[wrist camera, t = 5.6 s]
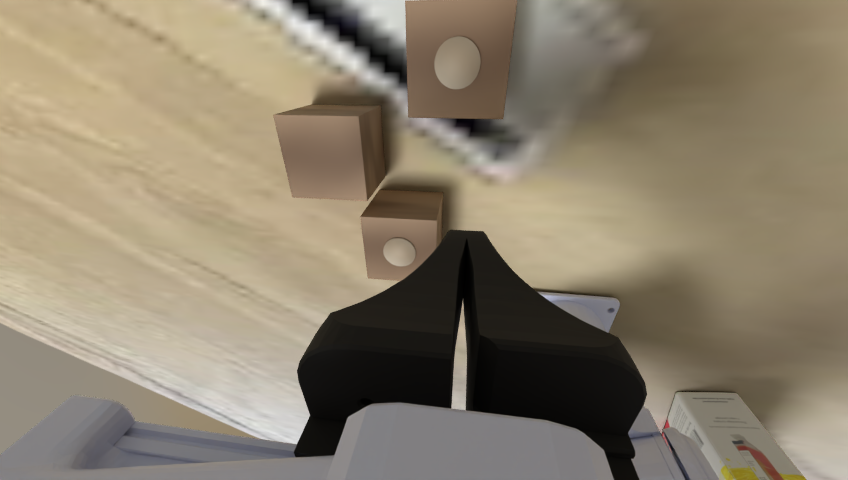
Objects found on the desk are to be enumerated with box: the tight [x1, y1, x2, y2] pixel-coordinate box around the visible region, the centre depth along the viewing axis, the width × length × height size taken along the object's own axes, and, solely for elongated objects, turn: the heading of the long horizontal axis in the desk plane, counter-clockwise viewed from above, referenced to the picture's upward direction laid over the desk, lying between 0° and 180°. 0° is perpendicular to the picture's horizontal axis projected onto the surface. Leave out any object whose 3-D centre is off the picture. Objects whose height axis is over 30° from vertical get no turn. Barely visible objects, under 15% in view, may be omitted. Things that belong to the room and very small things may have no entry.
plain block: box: [273, 105, 386, 201], centre depth 18 cm, size 4×4×4 cm
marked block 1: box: [405, 0, 517, 119], centre depth 15 cm, size 4×5×5 cm
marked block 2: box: [360, 190, 443, 281], centre depth 21 cm, size 4×5×5 cm
